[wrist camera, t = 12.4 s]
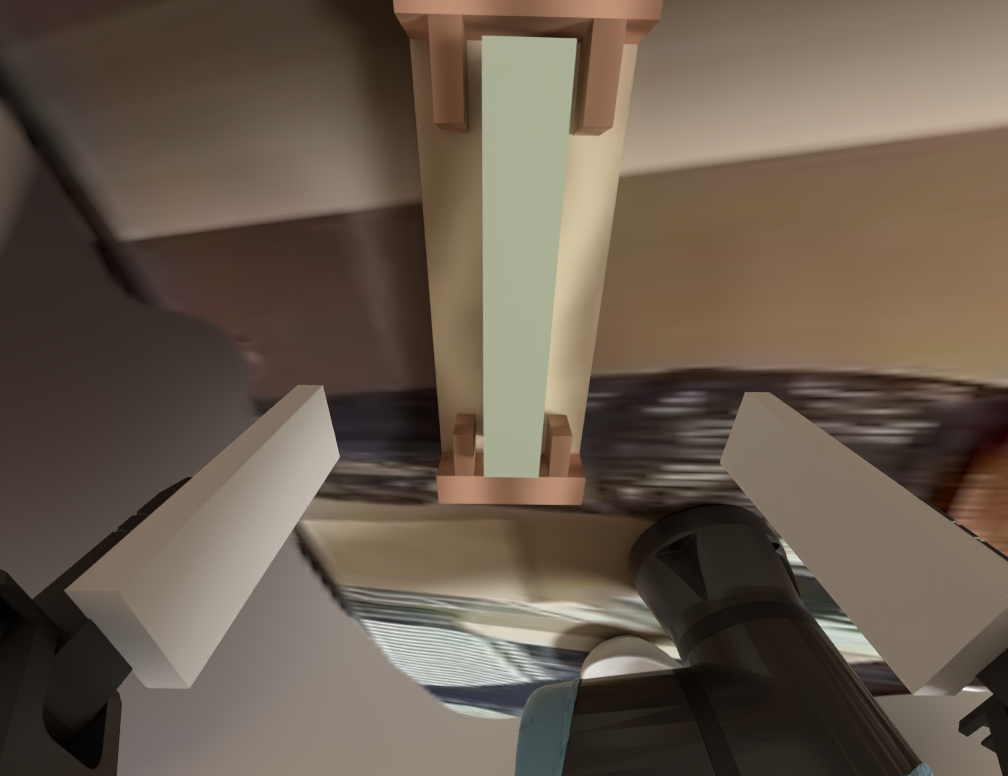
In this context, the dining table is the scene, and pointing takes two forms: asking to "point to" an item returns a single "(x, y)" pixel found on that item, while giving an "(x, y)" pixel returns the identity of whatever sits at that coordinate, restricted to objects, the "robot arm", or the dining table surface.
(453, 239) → the slat cradle
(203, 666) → the robot arm
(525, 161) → the slat
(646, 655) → the spoon rest
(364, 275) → the dining table surface
